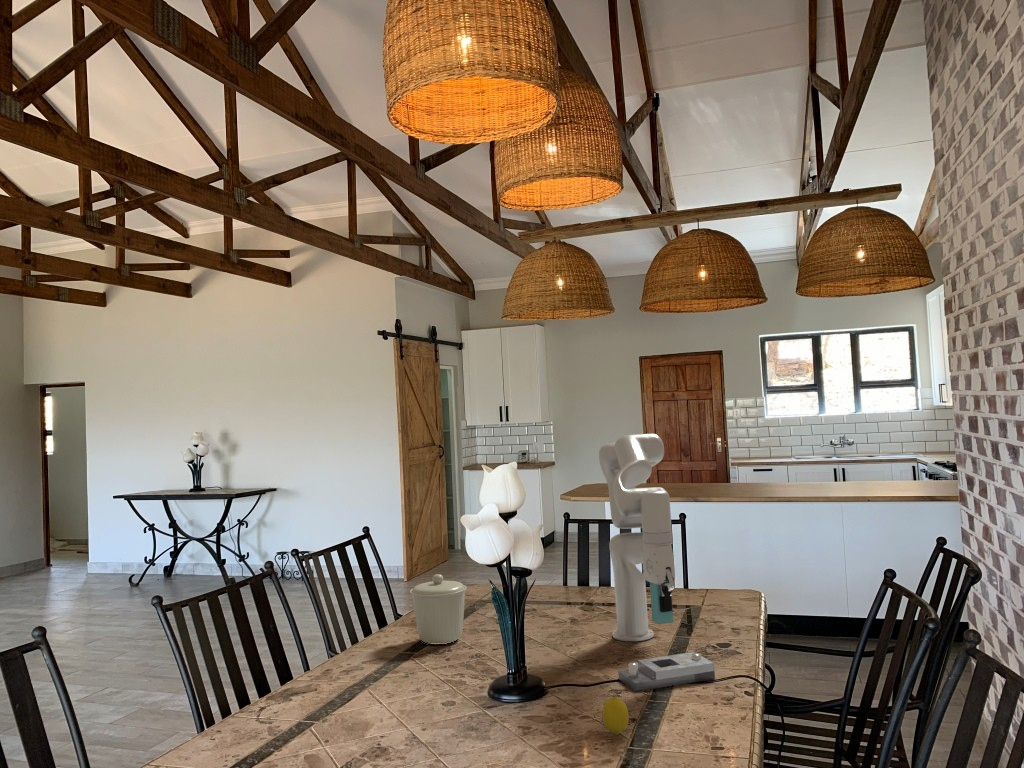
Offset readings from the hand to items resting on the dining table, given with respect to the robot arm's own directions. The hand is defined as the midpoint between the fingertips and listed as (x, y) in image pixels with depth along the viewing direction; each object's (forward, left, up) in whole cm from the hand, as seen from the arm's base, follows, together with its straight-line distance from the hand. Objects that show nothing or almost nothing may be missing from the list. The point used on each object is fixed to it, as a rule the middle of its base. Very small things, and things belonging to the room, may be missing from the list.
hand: (662, 608), depth 206 cm
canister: (-63, -47, -18) cm, 81 cm away
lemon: (+28, -26, -18) cm, 42 cm away
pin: (0, 0, -3) cm, 3 cm away
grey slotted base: (0, 0, -18) cm, 18 cm away
